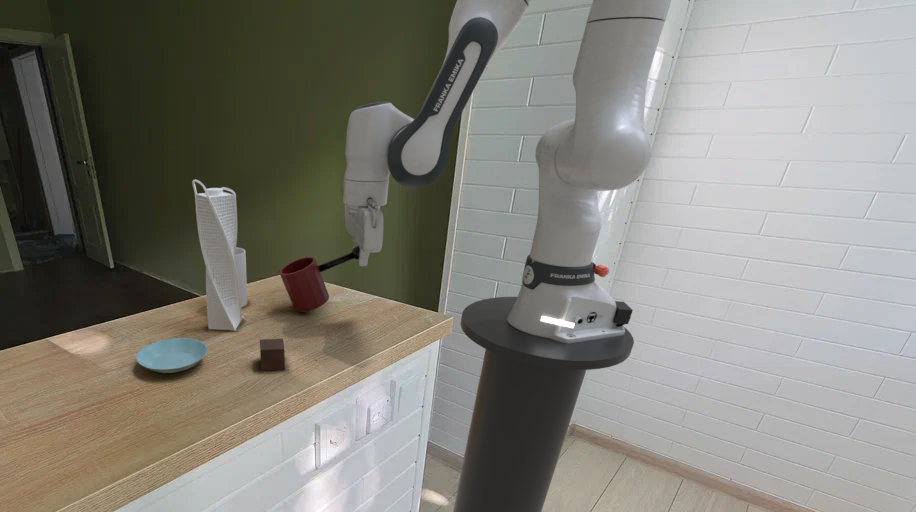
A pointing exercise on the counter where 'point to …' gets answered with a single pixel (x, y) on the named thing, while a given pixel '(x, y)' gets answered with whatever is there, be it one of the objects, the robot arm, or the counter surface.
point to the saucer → (171, 355)
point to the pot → (310, 280)
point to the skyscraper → (219, 255)
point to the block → (272, 354)
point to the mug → (241, 274)
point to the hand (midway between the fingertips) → (360, 262)
